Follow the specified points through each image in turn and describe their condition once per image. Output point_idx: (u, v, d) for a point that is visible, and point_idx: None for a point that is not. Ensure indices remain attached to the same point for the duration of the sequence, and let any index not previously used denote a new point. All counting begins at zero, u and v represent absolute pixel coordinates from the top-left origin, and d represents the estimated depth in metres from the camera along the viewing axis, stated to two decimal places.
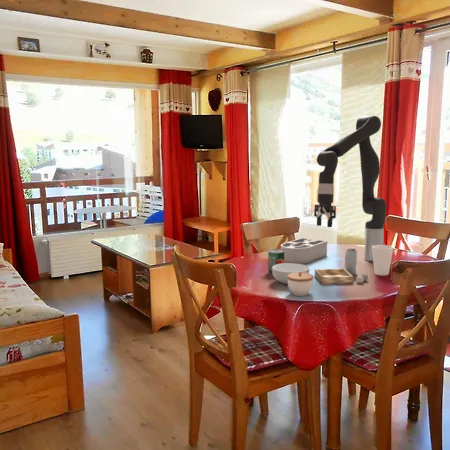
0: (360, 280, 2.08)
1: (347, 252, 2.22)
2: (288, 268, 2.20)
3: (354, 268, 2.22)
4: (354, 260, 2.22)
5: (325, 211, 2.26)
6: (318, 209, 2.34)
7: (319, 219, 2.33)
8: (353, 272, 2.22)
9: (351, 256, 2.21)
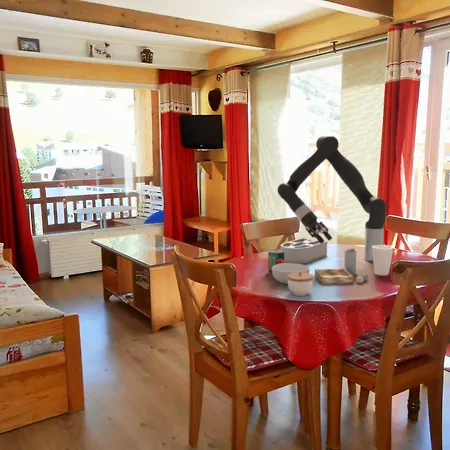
0: (360, 280, 2.08)
1: (346, 253, 2.22)
2: (288, 268, 2.20)
3: (354, 268, 2.22)
4: (354, 261, 2.21)
5: (312, 232, 2.29)
6: (322, 226, 2.34)
7: (326, 234, 2.32)
8: (353, 273, 2.22)
9: (351, 256, 2.21)
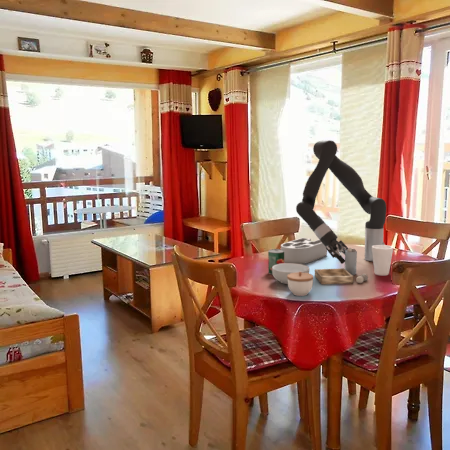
0: (360, 280, 2.08)
1: (347, 253, 2.21)
2: (288, 268, 2.20)
3: (354, 269, 2.22)
4: (354, 261, 2.21)
5: (332, 251, 2.24)
6: (342, 245, 2.30)
7: None
8: (353, 273, 2.22)
9: (351, 257, 2.20)
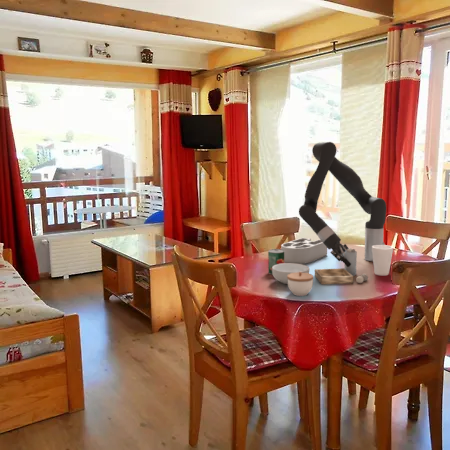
0: (360, 280, 2.08)
1: (346, 253, 2.21)
2: (288, 268, 2.20)
3: (354, 269, 2.21)
4: (354, 261, 2.20)
5: None
6: (345, 249, 2.29)
7: None
8: (353, 273, 2.21)
9: (351, 257, 2.20)
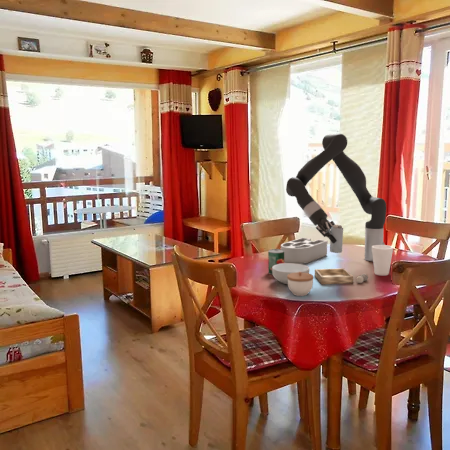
0: (360, 280, 2.08)
1: (332, 229, 2.11)
2: (288, 268, 2.20)
3: (339, 246, 2.12)
4: (340, 238, 2.11)
5: (322, 231, 2.15)
6: (332, 225, 2.20)
7: None
8: (338, 250, 2.12)
9: (337, 233, 2.11)
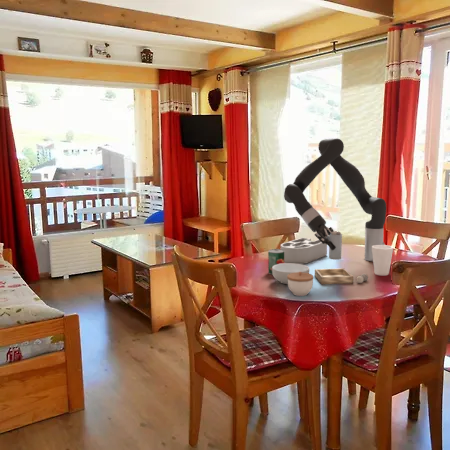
0: (360, 280, 2.08)
1: (331, 236, 2.11)
2: (288, 268, 2.20)
3: (339, 253, 2.11)
4: (339, 244, 2.10)
5: None
6: (331, 232, 2.19)
7: None
8: (337, 257, 2.11)
9: (336, 240, 2.10)
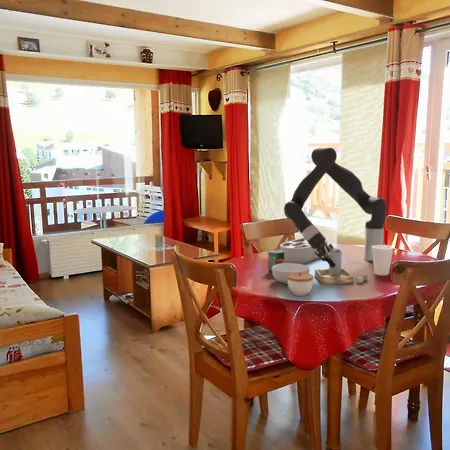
0: (360, 280, 2.08)
1: (331, 253, 2.12)
2: (288, 268, 2.20)
3: (338, 270, 2.12)
4: (338, 262, 2.12)
5: None
6: (331, 248, 2.20)
7: None
8: (337, 274, 2.13)
9: (336, 257, 2.11)
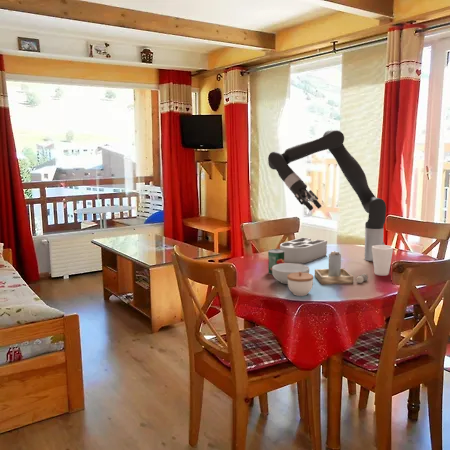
0: (360, 280, 2.08)
1: (330, 256, 2.12)
2: (288, 268, 2.20)
3: (338, 273, 2.13)
4: (338, 265, 2.12)
5: (301, 200, 2.30)
6: (311, 194, 2.36)
7: (315, 203, 2.33)
8: None
9: (335, 260, 2.11)
